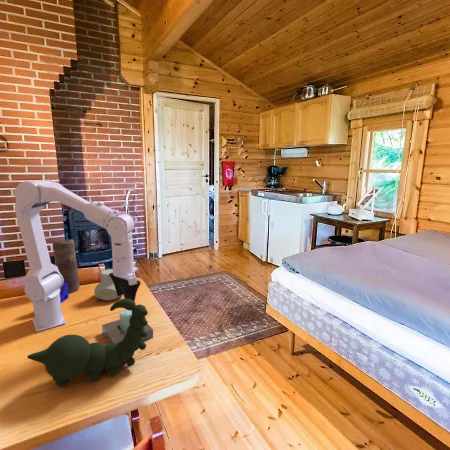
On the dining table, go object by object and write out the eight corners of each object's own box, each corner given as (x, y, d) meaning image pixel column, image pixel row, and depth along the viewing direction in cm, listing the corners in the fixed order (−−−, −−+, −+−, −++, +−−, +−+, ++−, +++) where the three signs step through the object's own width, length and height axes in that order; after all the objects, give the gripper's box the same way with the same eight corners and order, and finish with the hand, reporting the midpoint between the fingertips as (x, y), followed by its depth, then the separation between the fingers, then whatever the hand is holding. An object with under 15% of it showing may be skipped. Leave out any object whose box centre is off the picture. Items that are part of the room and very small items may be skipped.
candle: (53, 292, 114) (47, 242, 109) (66, 285, 121) (61, 237, 116) (71, 294, 112) (66, 243, 108) (83, 286, 119) (79, 238, 115)
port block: (102, 332, 88) (101, 325, 87) (138, 321, 94) (138, 313, 94) (114, 351, 79) (114, 343, 79) (153, 337, 86) (152, 329, 86)
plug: (120, 334, 87) (119, 312, 86) (131, 330, 89) (130, 309, 88) (124, 339, 85) (123, 316, 83) (135, 335, 87) (134, 313, 85)
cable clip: (57, 297, 110) (55, 282, 109) (68, 298, 110) (67, 282, 109) (33, 313, 99) (30, 296, 97) (45, 314, 98) (43, 297, 97)
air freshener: (128, 291, 115) (127, 267, 113) (123, 301, 107) (121, 275, 105) (99, 292, 114) (97, 267, 112) (91, 302, 106) (89, 276, 104)
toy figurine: (139, 355, 81) (30, 377, 69) (143, 289, 77) (28, 300, 66) (148, 377, 72) (25, 406, 61) (152, 304, 69) (23, 320, 57)
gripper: (146, 260, 82) (148, 305, 85) (127, 247, 94) (130, 287, 97) (120, 265, 78) (123, 312, 81) (104, 251, 89) (107, 293, 92)
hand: (125, 299), depth 89 cm, fingers open, 7 cm apart
